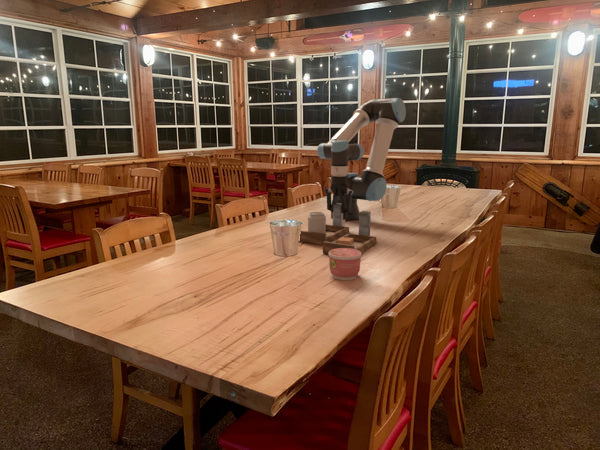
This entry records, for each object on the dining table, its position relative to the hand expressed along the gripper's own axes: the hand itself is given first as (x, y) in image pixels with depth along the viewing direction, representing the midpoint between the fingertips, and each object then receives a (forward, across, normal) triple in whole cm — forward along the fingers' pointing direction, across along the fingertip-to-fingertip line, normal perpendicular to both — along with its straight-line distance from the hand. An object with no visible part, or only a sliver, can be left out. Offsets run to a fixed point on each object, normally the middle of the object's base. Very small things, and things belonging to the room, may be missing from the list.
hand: (338, 225), depth 201 cm
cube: (+2, +17, -30) cm, 34 cm away
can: (+2, 0, -21) cm, 21 cm away
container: (+2, +28, -55) cm, 62 cm away
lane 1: (+2, 0, -12) cm, 12 cm away
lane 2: (+2, +17, -23) cm, 29 cm away
